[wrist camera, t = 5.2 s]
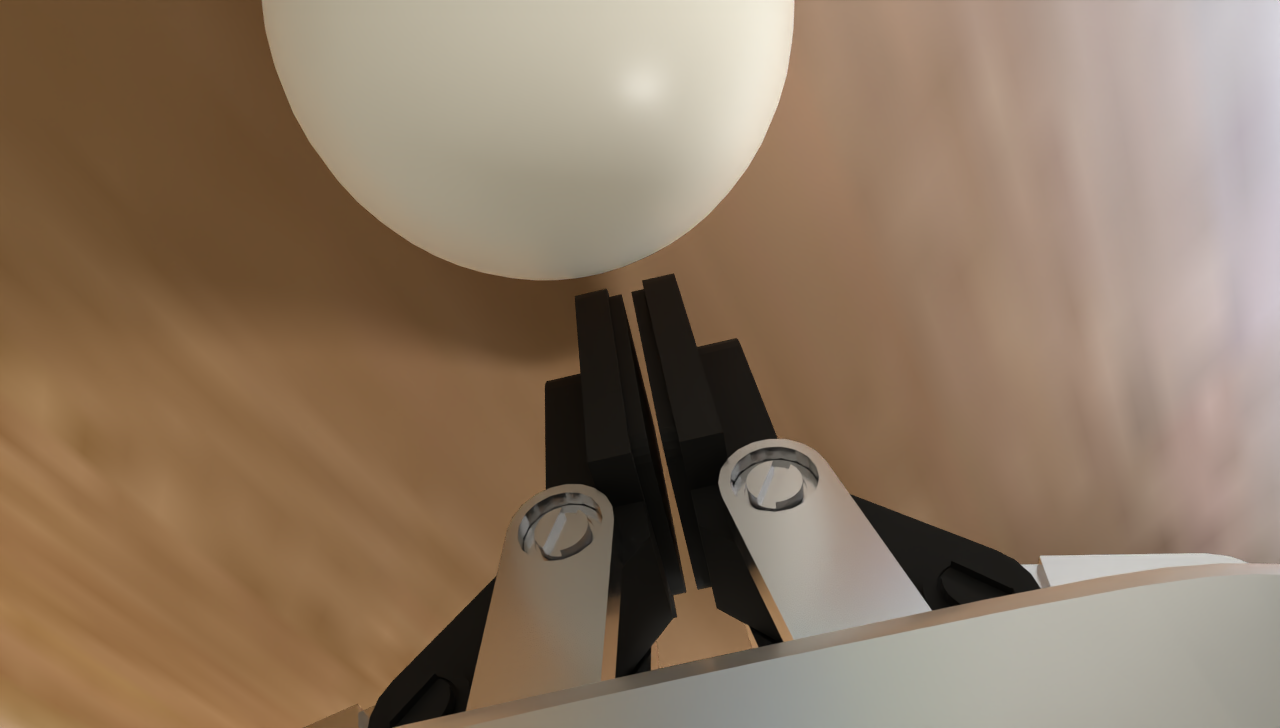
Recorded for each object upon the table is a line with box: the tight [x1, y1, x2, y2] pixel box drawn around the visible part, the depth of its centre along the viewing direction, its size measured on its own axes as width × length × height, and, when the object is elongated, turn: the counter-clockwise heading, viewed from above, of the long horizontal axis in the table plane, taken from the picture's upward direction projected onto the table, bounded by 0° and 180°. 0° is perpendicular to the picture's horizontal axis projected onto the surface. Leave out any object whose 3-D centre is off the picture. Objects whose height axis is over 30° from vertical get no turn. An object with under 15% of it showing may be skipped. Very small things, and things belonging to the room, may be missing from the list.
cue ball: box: [262, 0, 794, 280], centre depth 8 cm, size 6×6×6 cm
